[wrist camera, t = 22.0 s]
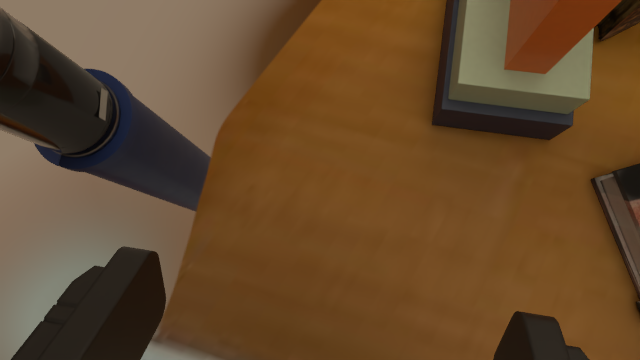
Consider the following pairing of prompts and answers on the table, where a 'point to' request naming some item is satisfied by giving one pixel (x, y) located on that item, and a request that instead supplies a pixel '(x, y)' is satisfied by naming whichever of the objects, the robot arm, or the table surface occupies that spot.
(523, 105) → the box stack
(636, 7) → the book
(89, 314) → the robot arm
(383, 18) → the table surface
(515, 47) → the orange box
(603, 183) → the book
